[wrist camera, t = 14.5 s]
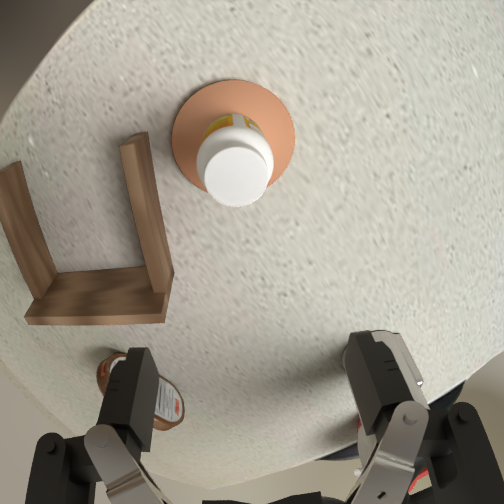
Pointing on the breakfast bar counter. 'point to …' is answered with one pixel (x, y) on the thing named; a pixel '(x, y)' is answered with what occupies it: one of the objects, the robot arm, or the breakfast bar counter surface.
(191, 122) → the coaster
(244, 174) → the supplement bottle
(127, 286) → the cubby
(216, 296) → the breakfast bar counter surface
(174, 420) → the tin
